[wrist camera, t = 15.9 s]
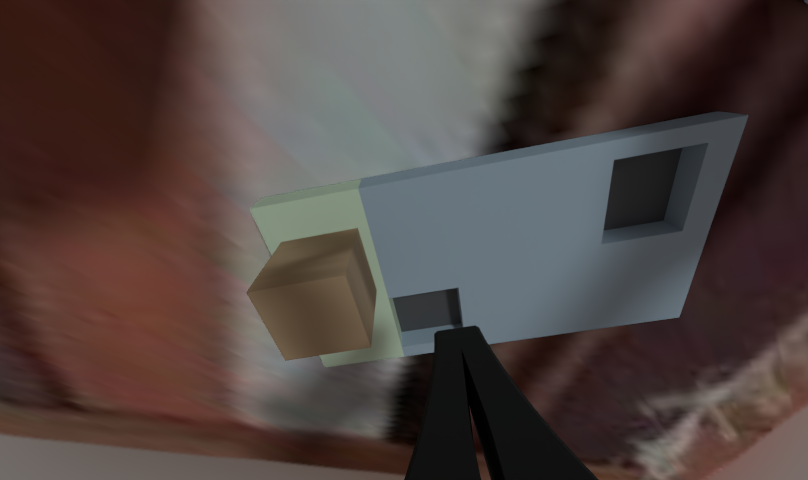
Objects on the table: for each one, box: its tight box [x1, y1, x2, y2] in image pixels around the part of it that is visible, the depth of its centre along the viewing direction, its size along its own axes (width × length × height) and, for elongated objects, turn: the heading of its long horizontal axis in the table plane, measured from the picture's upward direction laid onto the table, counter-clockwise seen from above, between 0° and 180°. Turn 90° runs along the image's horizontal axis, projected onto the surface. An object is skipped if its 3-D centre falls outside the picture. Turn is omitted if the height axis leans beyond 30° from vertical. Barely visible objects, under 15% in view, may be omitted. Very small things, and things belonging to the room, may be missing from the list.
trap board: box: [250, 111, 749, 368], centre depth 19 cm, size 25×13×2 cm, turn 101°
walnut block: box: [246, 228, 377, 361], centre depth 16 cm, size 4×4×4 cm
